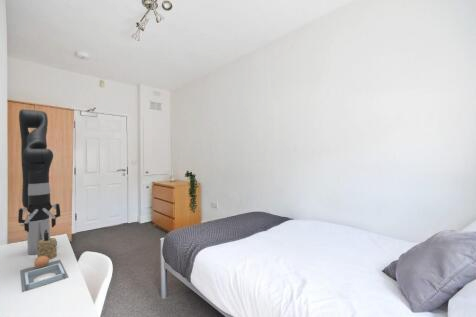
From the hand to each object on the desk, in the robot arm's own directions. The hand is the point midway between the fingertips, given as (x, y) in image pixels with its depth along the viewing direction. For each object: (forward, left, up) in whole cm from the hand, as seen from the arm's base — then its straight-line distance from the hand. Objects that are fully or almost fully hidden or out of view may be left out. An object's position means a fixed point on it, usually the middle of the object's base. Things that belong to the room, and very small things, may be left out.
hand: (40, 229), depth 103 cm
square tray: (+13, 0, -17) cm, 22 cm away
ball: (0, 0, -17) cm, 17 cm away
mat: (+8, 0, -18) cm, 20 cm away
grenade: (-12, +3, -18) cm, 22 cm away
